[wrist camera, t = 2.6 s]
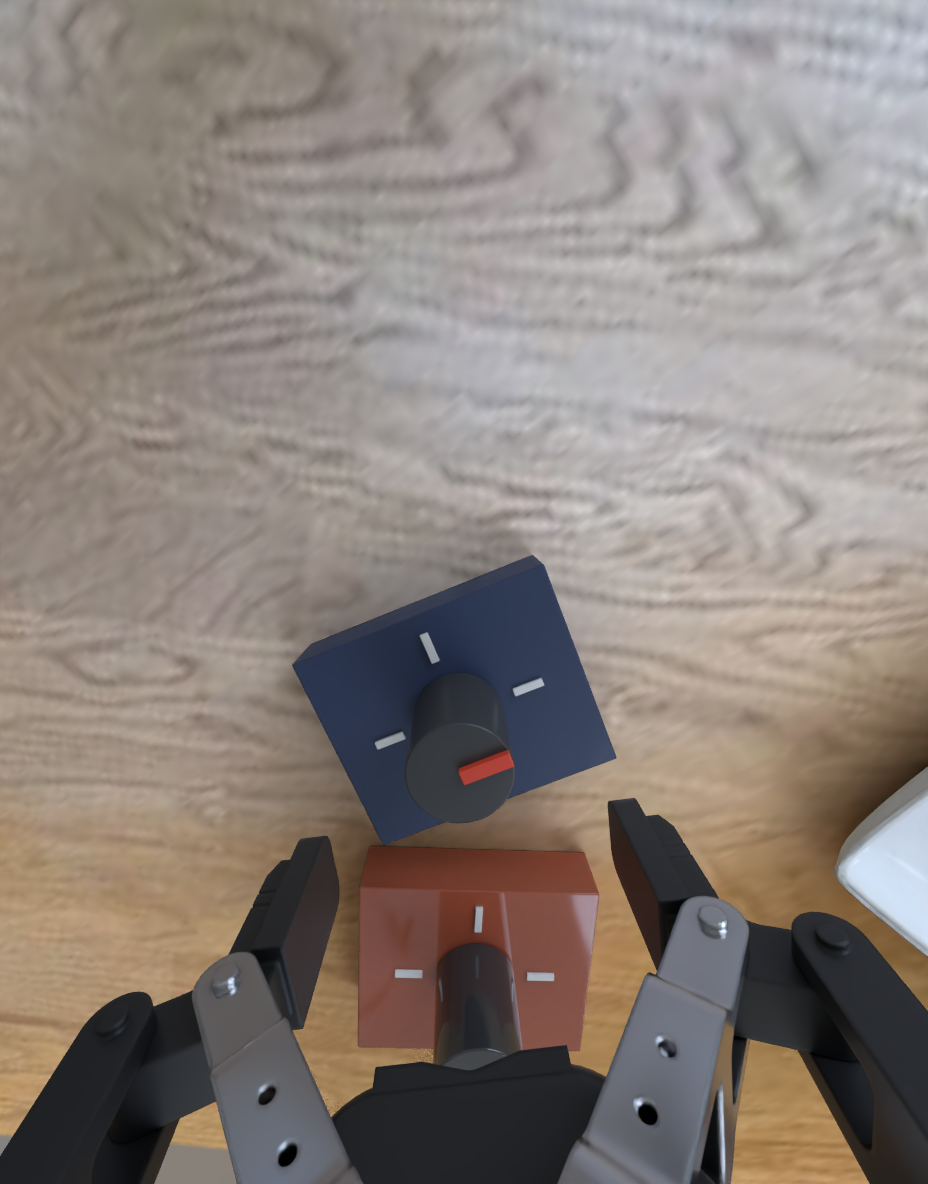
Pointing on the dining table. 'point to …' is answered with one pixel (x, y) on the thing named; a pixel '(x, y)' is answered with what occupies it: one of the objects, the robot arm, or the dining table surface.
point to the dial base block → (473, 937)
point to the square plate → (892, 862)
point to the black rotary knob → (459, 750)
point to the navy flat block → (444, 646)
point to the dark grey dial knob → (475, 1008)
